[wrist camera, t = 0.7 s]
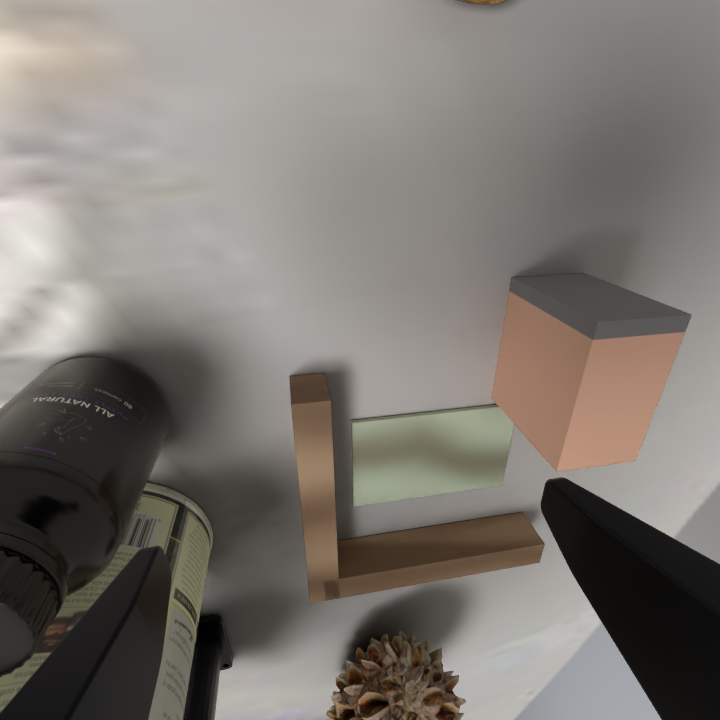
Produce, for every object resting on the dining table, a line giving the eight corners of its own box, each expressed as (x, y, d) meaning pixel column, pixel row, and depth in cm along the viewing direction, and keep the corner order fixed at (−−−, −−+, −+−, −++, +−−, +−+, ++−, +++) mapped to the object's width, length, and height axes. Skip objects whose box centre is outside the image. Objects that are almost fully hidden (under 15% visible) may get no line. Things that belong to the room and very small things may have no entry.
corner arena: (518, 529, 33) (539, 562, 30) (307, 564, 30) (310, 603, 28) (561, 351, 26) (593, 373, 23) (289, 376, 23) (291, 404, 20)
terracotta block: (554, 391, 27) (635, 460, 21) (491, 398, 26) (556, 471, 20) (583, 273, 24) (691, 314, 17) (511, 277, 23) (597, 322, 17)
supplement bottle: (135, 335, 21) (-15, 525, 10) (192, 438, 24) (125, 663, 13) (-1, 374, 20) (-304, 613, 10) (76, 473, 23) (-89, 733, 13)
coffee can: (81, 606, 28) (-73, 961, 16) (6, 499, 23) (-299, 886, 11) (232, 572, 29) (199, 877, 17) (190, 463, 25) (100, 777, 12)
